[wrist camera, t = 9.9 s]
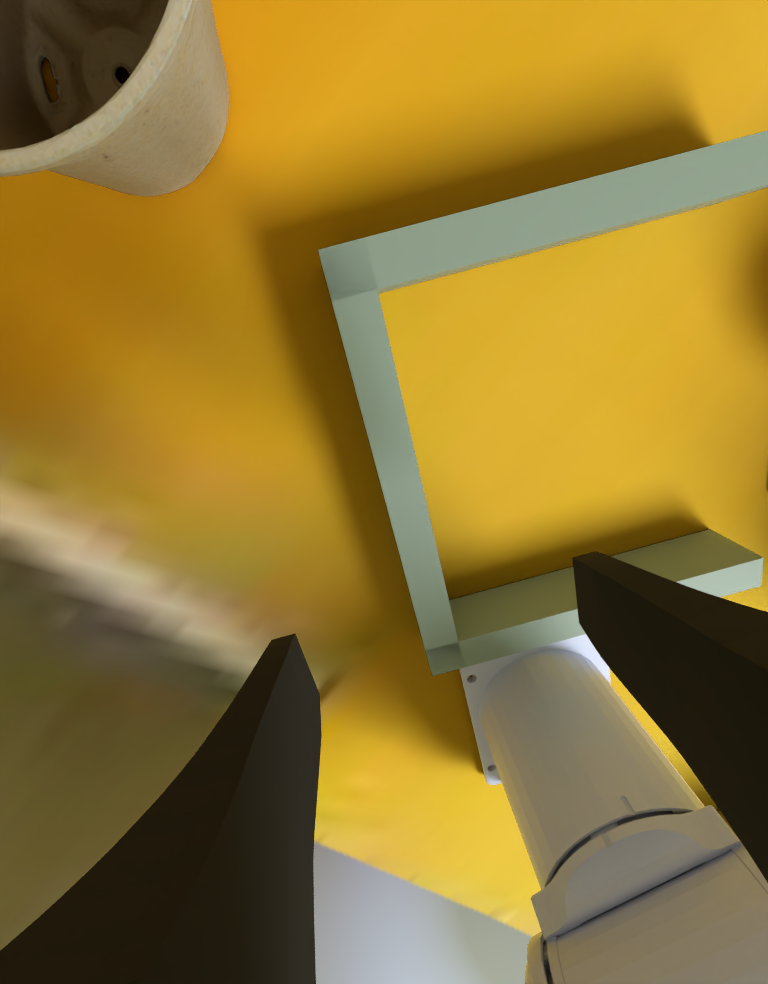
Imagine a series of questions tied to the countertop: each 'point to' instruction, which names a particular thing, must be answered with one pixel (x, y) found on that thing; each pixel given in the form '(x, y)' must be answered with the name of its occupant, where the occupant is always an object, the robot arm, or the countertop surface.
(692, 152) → the green u-shaped frame
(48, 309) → the countertop surface
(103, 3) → the flower pot
